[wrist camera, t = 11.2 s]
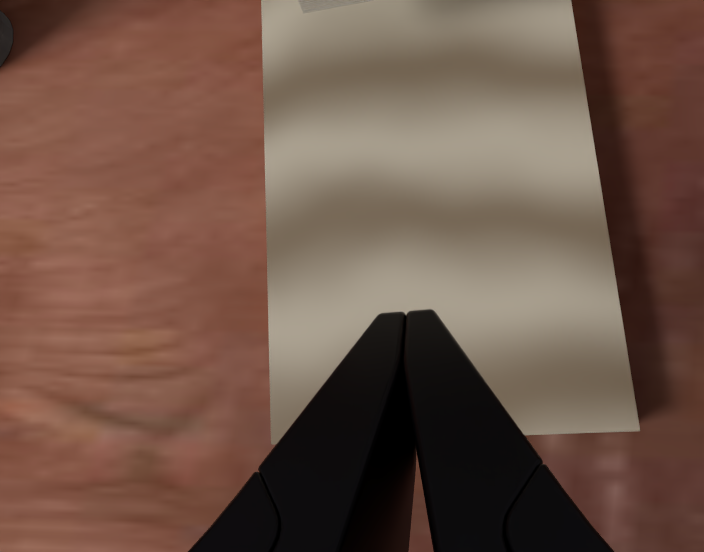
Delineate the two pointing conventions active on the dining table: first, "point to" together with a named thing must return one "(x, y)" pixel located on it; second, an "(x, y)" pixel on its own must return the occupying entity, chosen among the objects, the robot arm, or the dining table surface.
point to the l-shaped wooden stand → (441, 201)
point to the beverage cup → (5, 37)
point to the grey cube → (325, 4)
